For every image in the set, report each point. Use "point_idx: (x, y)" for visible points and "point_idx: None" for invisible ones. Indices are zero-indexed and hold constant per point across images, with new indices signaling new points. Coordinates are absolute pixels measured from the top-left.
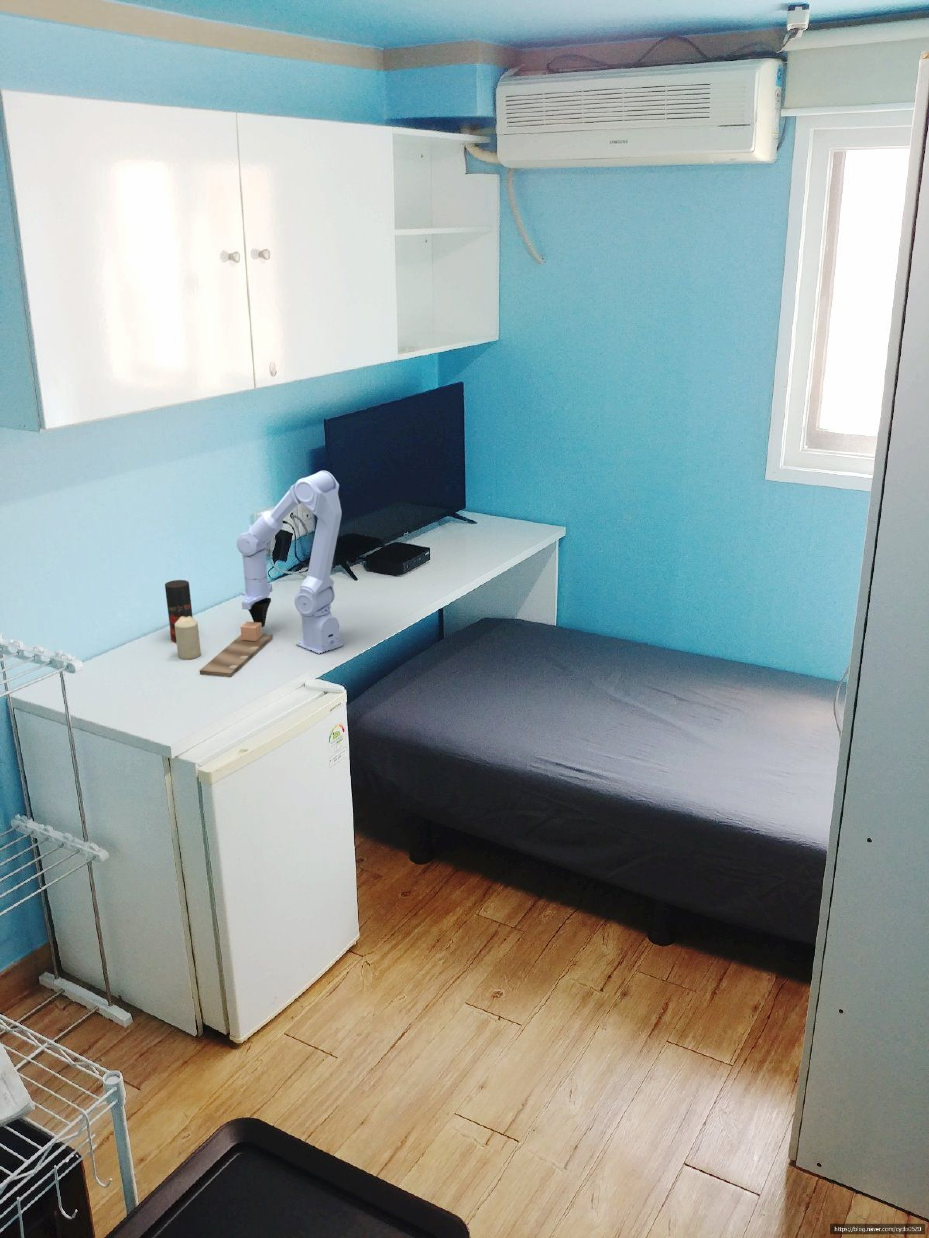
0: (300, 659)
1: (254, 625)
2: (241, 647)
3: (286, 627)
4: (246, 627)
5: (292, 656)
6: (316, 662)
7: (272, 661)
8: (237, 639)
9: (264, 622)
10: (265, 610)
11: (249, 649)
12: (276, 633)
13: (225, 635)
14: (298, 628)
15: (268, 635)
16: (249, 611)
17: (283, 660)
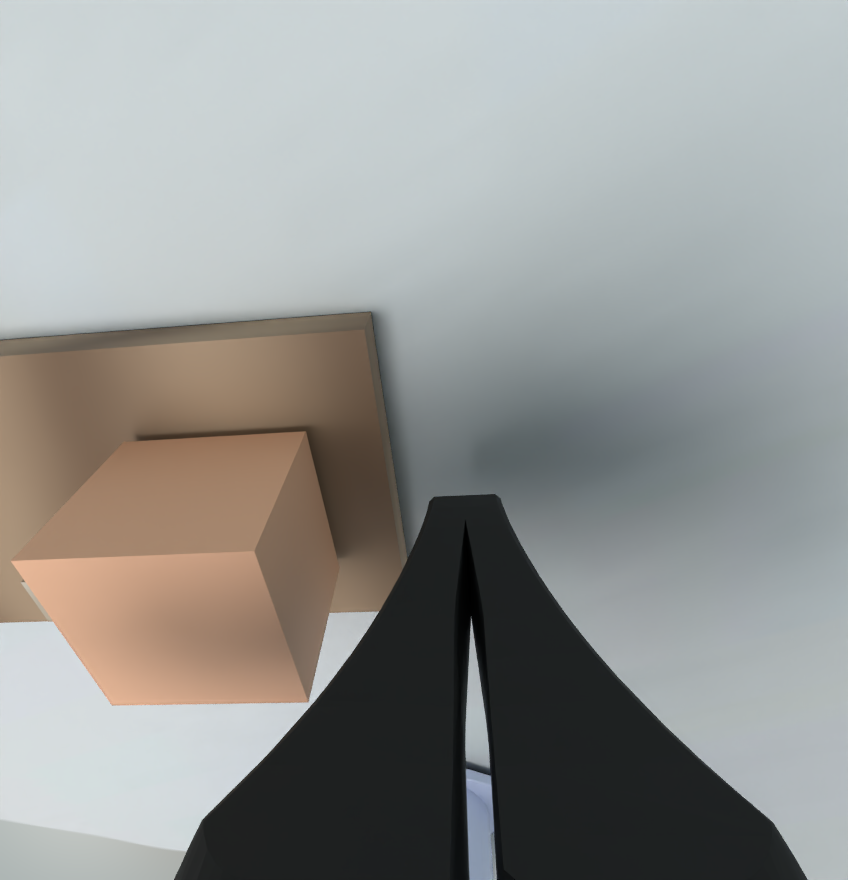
0: (173, 788)
1: (179, 676)
2: (1, 505)
3: (706, 582)
4: (60, 627)
5: (184, 756)
6: (186, 835)
7: (48, 705)
8: (139, 369)
9: (472, 621)
10: (493, 818)
11: (21, 579)
12: (541, 564)
13: (306, 8)
14: (684, 657)
15: (384, 590)
16: (319, 698)
17: (104, 740)
